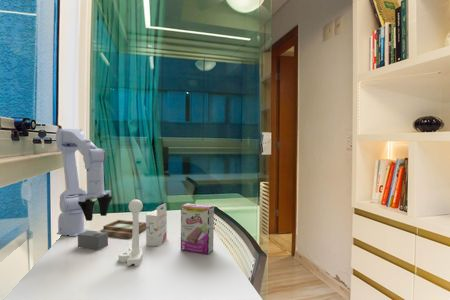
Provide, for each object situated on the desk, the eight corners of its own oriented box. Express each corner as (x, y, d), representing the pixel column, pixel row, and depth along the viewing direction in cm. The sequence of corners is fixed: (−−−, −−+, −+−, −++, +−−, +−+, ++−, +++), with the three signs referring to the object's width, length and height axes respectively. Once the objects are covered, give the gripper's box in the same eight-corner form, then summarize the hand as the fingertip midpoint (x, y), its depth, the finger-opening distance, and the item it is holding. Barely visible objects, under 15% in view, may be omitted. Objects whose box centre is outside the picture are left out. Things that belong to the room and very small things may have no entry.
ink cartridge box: (155, 237, 115) (155, 201, 114) (166, 238, 114) (167, 202, 113) (145, 245, 106) (145, 206, 106) (157, 246, 105) (157, 207, 105)
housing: (77, 247, 104) (77, 232, 103) (87, 243, 108) (87, 228, 108) (98, 250, 101) (98, 235, 101) (107, 245, 106) (107, 230, 106)
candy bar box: (179, 250, 102) (180, 205, 101) (186, 245, 107) (186, 202, 106) (208, 255, 98) (209, 208, 98) (213, 250, 103) (214, 205, 102)
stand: (100, 235, 117) (100, 227, 117) (121, 225, 131) (121, 218, 130) (129, 238, 113) (129, 230, 113) (148, 228, 127) (148, 221, 127)
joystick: (142, 265, 89) (142, 202, 89) (116, 268, 87) (116, 204, 87) (142, 252, 100) (142, 196, 99) (119, 254, 98) (119, 196, 97)
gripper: (90, 183, 96) (91, 223, 96) (117, 179, 110) (118, 213, 110) (73, 183, 98) (74, 222, 98) (101, 179, 112) (102, 213, 112)
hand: (96, 217), depth 104 cm, fingers open, 7 cm apart
